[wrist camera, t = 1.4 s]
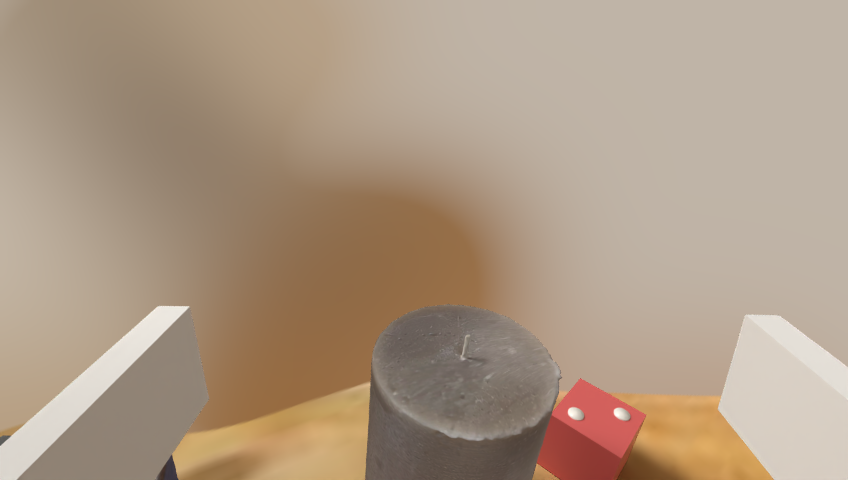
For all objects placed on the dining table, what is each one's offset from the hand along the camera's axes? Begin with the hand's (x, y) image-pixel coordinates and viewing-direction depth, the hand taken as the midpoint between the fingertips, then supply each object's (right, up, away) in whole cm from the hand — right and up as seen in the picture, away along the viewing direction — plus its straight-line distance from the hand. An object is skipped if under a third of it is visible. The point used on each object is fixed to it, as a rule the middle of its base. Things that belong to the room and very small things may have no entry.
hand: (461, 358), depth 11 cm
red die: (+11, -14, +24) cm, 29 cm away
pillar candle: (0, -16, +19) cm, 24 cm away
